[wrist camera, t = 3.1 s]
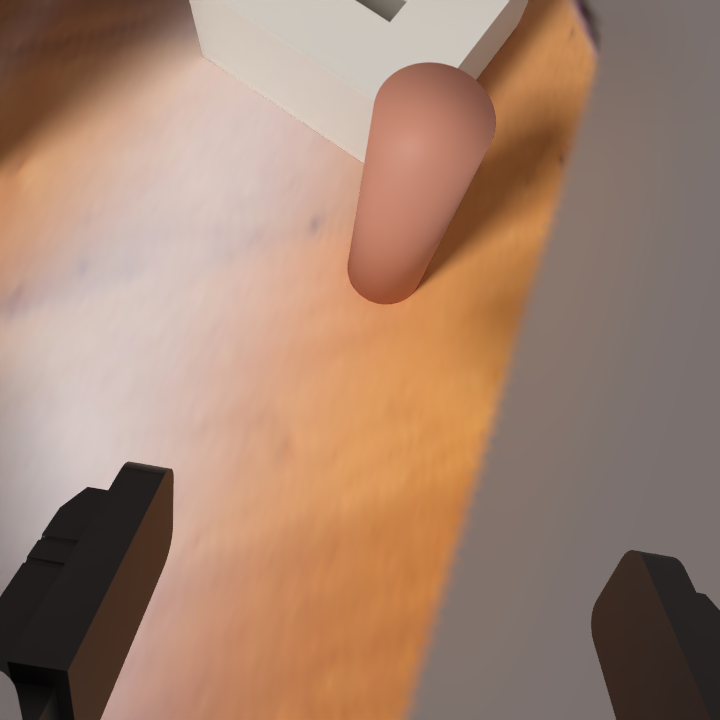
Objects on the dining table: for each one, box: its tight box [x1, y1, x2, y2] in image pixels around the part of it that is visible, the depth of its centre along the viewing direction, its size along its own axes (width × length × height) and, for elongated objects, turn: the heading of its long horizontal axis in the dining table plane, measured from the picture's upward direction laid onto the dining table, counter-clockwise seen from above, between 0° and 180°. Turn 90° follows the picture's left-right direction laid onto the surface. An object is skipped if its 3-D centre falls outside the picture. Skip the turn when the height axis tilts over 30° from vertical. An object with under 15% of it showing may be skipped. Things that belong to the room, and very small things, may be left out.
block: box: [189, 0, 529, 163], centre depth 29 cm, size 12×12×5 cm
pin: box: [348, 62, 496, 304], centre depth 23 cm, size 4×4×12 cm
